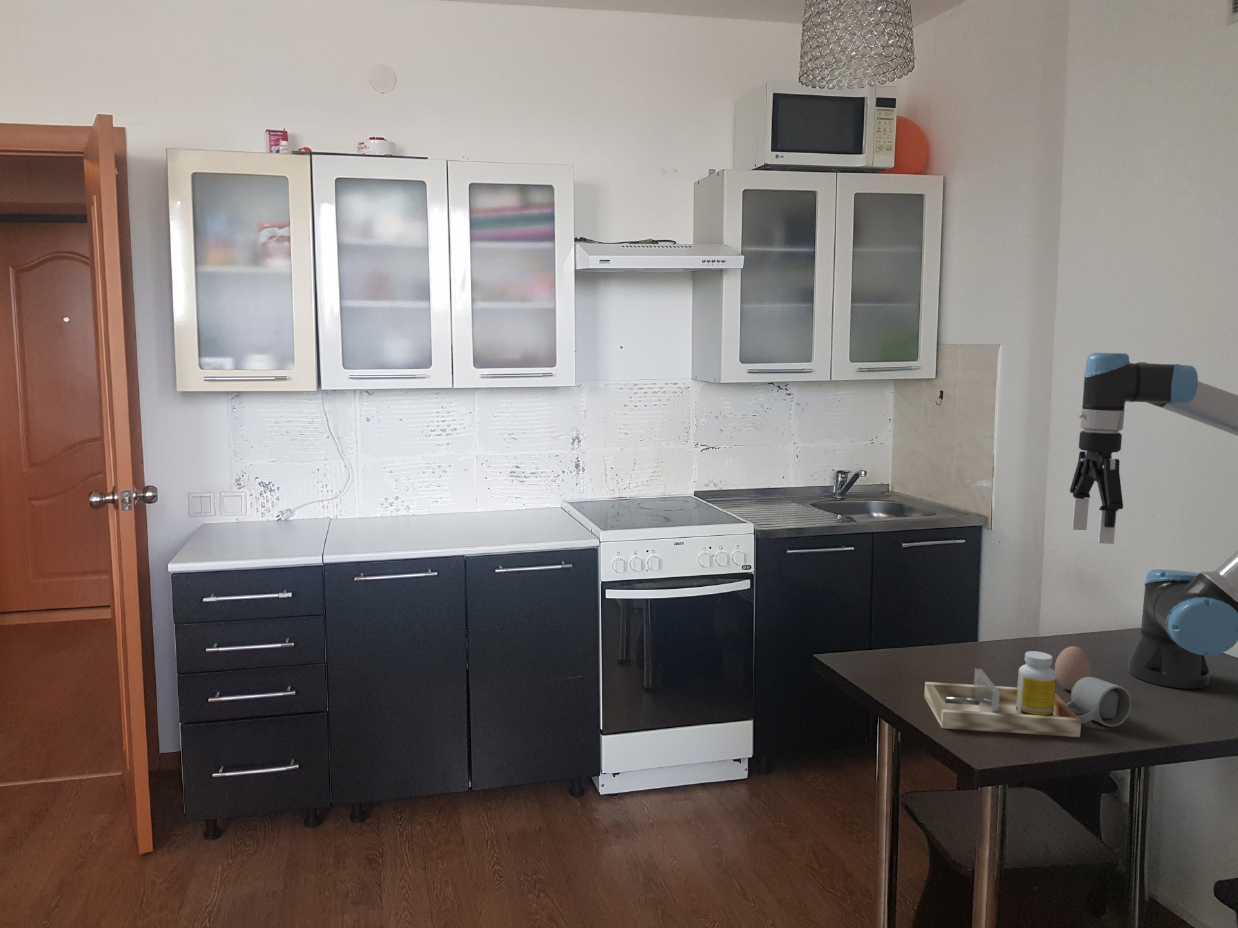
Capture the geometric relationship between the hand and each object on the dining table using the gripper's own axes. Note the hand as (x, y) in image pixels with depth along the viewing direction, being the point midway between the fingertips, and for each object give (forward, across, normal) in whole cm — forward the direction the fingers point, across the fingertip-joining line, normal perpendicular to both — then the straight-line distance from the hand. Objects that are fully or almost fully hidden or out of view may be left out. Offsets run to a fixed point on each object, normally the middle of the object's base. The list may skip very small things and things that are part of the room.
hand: (1091, 536), depth 192 cm
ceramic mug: (+32, +18, -4) cm, 37 cm away
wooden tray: (+31, +19, -21) cm, 42 cm away
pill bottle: (+31, +18, -15) cm, 39 cm away
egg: (+32, +2, -2) cm, 32 cm away
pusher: (+31, +18, -27) cm, 45 cm away
